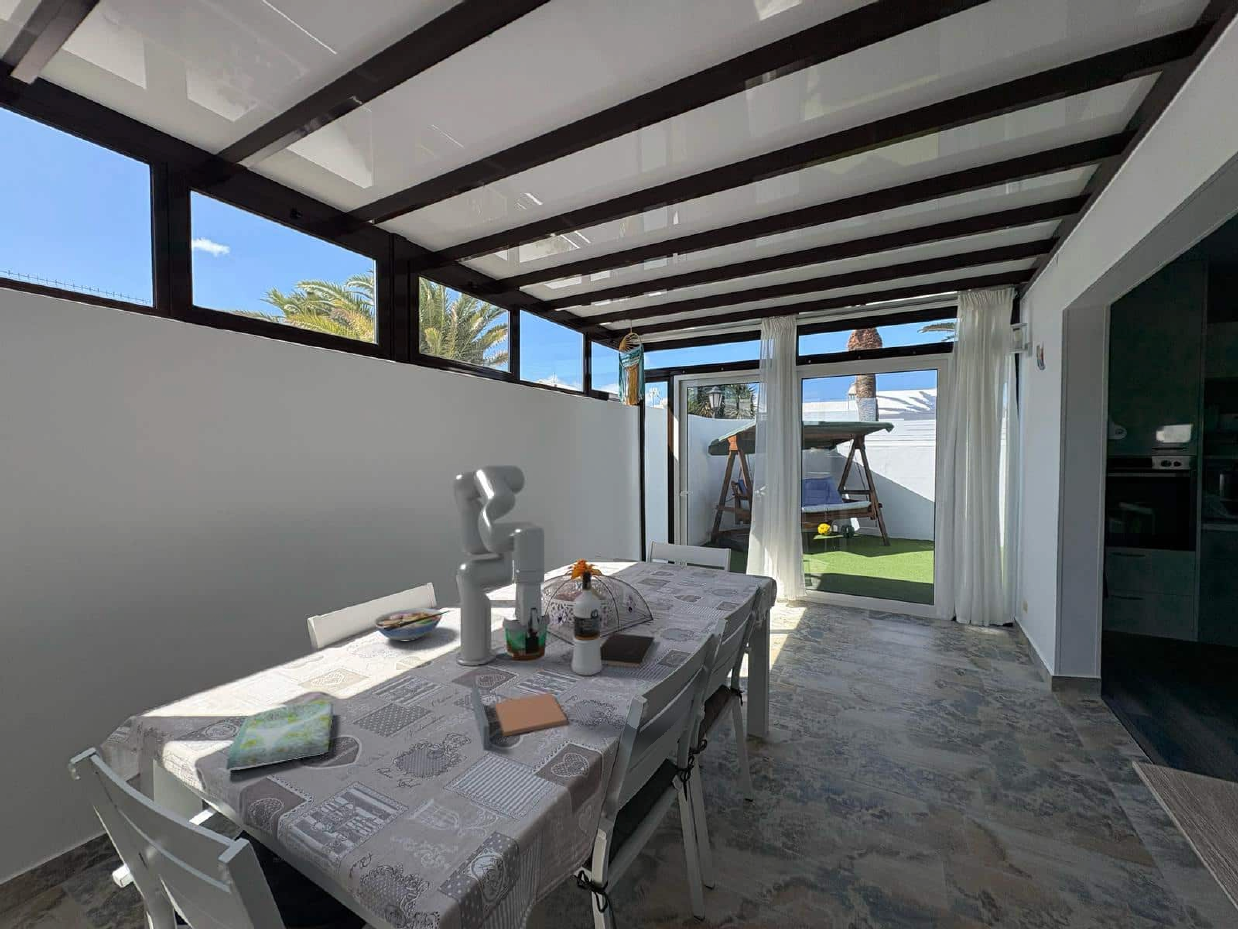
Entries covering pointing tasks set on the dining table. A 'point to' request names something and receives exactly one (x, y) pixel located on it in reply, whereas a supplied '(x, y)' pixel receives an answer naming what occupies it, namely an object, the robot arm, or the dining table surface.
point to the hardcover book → (625, 649)
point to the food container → (517, 639)
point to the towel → (282, 734)
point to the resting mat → (529, 714)
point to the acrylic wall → (480, 716)
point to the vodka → (586, 631)
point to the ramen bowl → (408, 623)
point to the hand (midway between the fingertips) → (529, 647)
